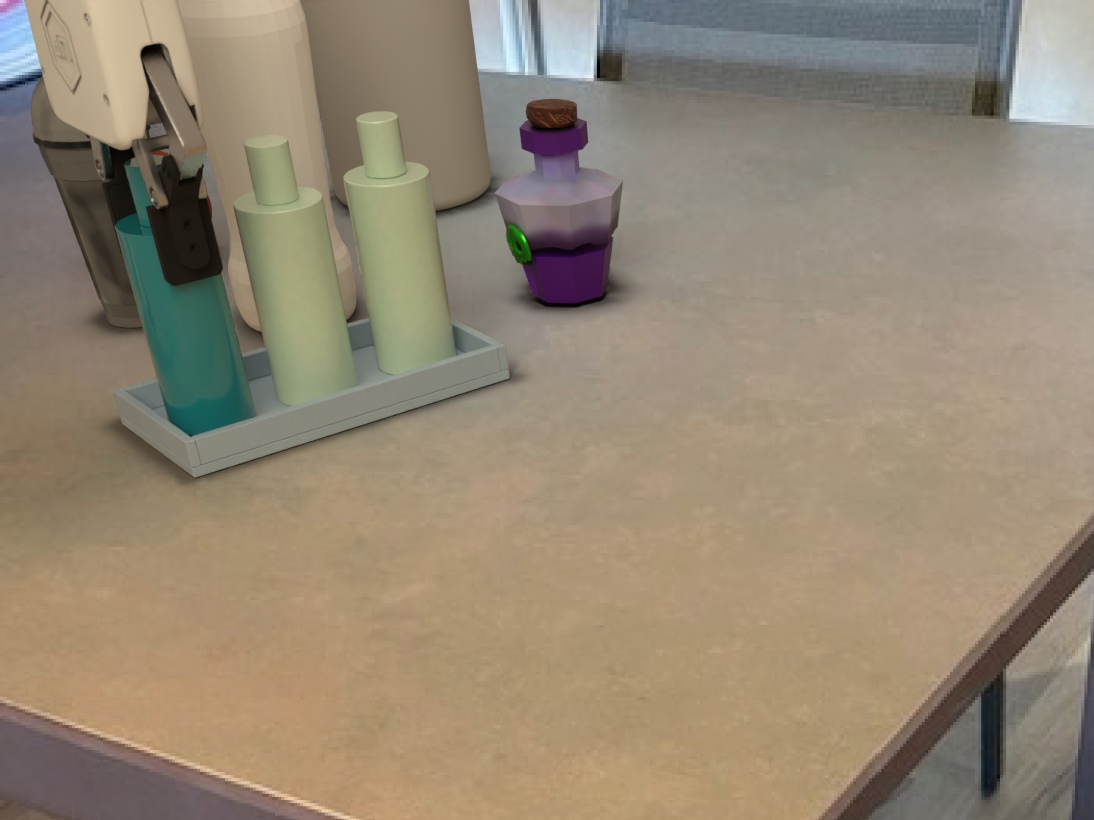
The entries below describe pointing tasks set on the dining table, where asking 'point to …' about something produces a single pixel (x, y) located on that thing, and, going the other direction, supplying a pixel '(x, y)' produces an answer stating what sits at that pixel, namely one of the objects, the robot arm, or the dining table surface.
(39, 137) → the beverage cup
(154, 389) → the tray
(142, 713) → the dining table surface
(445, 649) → the dining table surface
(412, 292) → the bottle
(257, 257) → the bottle
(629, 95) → the dining table surface
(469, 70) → the cylinder vase
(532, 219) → the potion bottle
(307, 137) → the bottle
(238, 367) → the loose bottle
